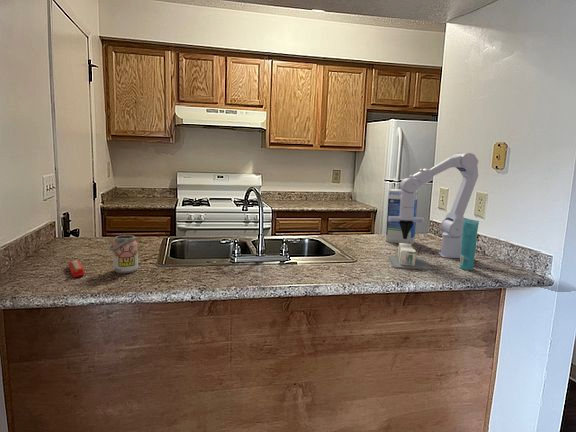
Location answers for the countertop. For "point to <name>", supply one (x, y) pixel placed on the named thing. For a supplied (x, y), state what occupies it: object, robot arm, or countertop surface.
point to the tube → (468, 243)
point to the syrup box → (406, 254)
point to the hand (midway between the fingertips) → (404, 238)
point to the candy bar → (76, 268)
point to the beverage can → (125, 254)
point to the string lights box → (393, 226)
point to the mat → (419, 264)
